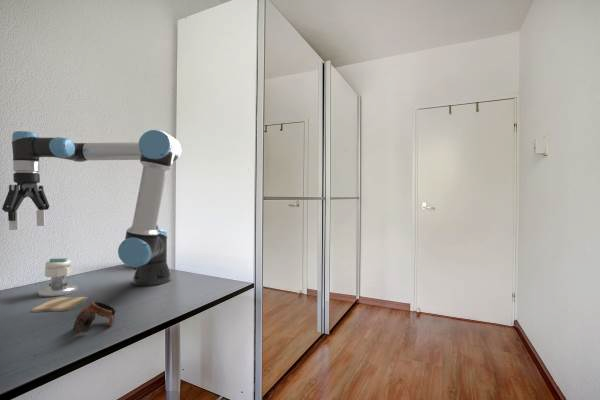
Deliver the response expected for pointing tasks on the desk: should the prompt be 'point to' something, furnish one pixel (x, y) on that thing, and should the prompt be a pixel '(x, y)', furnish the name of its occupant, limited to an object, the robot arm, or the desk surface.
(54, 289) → the bayonet post
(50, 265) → the cap
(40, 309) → the coaster
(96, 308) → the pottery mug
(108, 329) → the desk surface
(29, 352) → the desk surface
